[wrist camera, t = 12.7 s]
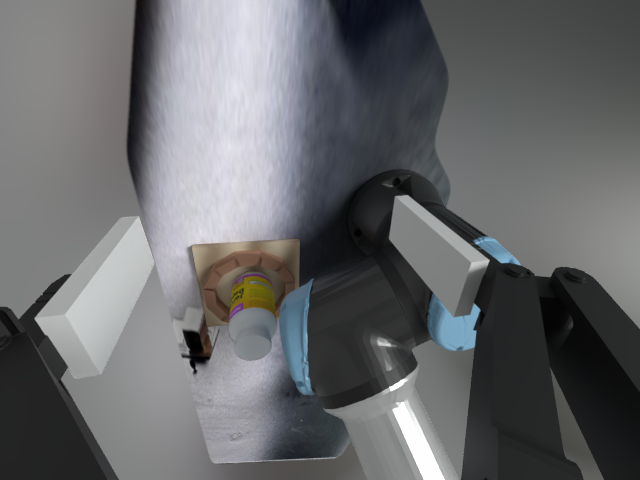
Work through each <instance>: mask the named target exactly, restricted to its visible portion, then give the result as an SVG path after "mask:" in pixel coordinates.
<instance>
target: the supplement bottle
mask: <svg viewBox="0 0 640 480" xmlns="http://www.w3.org/2000/svg"><path fill="white" fill-rule="evenodd" d="M276 329H277V319H276V310H275V300H274V290H273V284H272V281H271V280H270V278H269V277H268V276H267V275H265V274H263V273H260V272H254V271H253V272H246V273H243V274H241V275H240V276H238V277H237V278H236V279H235V281H234V282H233V285H232V291H231V302H230V315H229V327H228V330H229V334H230V337H231V338H232V340H233V341H235V353H236V355H237V356H238V357H240V358H241V359H244V360H258V359H261V358H263V357H265V356H266V355H267V354H268V353H269V352H270V350H271V338H272V337H273V336H274V334H275V332H276Z"/></svg>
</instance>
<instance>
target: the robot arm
mask: <svg viewBox="0 0 640 480" xmlns="http://www.w3.org/2000/svg"><path fill="white" fill-rule="evenodd" d="M348 229H349V232H350V235H351V237H352V239H353V240H354V242H355V244H356V245H357V247H358V248H359V249H360V250H361V251H362V252H363V253H365V254H366V255H367V256H365V257H363V258H360V259H358V260H356V261H354V262H352V263H350V264H348V265H346V266H344V267H341V268H339V269H337V270H335V271H333V272H331V273H329V274H327V275H324V276H322V277H320V278H318V279H315V278H313V279H311V280H310V281H309V283H307V284H305V285H303V286H301V287H299V288H297V289H295V290H293V291H292V292H290V293H289V294H287V295H286V297H285V298H284V300H283V302H282V304H281V308H280V318H279V323H280V335H281V341H282V347H283V351H284V355H285V359H286V362H287V366H288V369H289V372H290V374H291V377H292V379H293V380H294V381H295V383H296V387H297V388H298V390H299V391H300V392H301V393H302V394H304V395H314V394H316V393H317V394H318V396H319V398H320V401H321V403H322V406H323V408H324V410H325V411H326V412H328V413H330V414H332V415H334V416H336V417H339V418H341V419H342V420H343V421H344V423H345V426H346V428H347V431H348V433H349V436H350V438H351V440H352V443H353V445H354V448H355V450H356V453H357V455H358V458H359V460H360V463H361V465H362V468H363V470H364V473H365V475H366V478H367V480H459V479H458V476H457V475H456V472H455V470H454V468H453V466H452V464H451V462H450V460H449V458H448V456H447V454H446V452H445V450H444V448H443V446H442V444H441V441H440V439H439V437H438V435H437V433H436V431H435V429H434V427H433V425H432V423H431V421H430V419H429V416H428V414H427V413H426V410H425V408H424V406H423V404H422V402H421V400H420V398H419V396H418V394H417V392H416V390H415V387H414V382H415V379H416V376H417V373H418V370H419V365H418V362H417V361H416V359H415V357H414V355H413V352H412V348H414V347H416V346H418V345H420V344H422V343H424V342H426V341H429V340H431V339H432V340H433V341H434V342H435V343H436V344H437V345H439V346H441V347H442V348H444V349H446V350H449V351H455V350H456V349H457V350H460V351H463V350H467V349H470V348H473V347H475V350H474V360H473V369H472V379H471V389H470V399H469V408H468V418H467V428H466V438H465V448H464V458H463V469H462V477H461V480H583V476H582V473H581V470H580V468H579V467H578V466H577V464H576V463H574V462H572V461H570V460H568V459H566V457H565V455H564V451H563V446H562V439H561V433H560V427H559V420H558V415H557V408H556V402H555V395H554V389H553V383H552V376H551V370H550V367H551V369H552V371H553V373H554V375H555V377H556V380H557V382H558V384H559V386H560V388H561V390H562V392H563V394H564V396H565V398H566V401H567V403H568V405H569V407H570V409H571V411H572V413H573V415H574V417H575V419H576V421H577V424H578V426H579V428H580V430H581V432H582V434H583V436H584V438H585V440H586V442H587V444H588V447H589V449H590V451H591V453H592V455H593V457H594V459H595V461H596V463H597V465H598V468H599V470H600V472H601V474H602V476H603V478H604V480H640V329H639V328H638V327H637V326H636V324H635V323H634V322H633V321H632V320H631V319H630V318H629V317H628V315H627V314H626V313H625V312H624V311H623V310H622V309H621V308H620V306H619V305H618V304H617V303H616V302H615V301H614V300H613V299H612V297H611V296H610V295H609V294H608V293H607V292H606V291H605V290H604V289H603V287H602V286H601V285H600V284H599V283H598V282H597V281H596V280H595V279H594V278H593V277H592V276H590V275H588V274H587V273H585V272H584V271H581V270H578V269H575V268H569V267H559V268H556V269H555V270H554V272H553V274H552V276H551V277H540V276H535V275H534V273H532V272H531V271H530V270H529V269H527V268H525V267H523V266H521V265H520V263H519V262H518V260H517V259H516V258H515V257H514V256H512V255H511V254H510V253H509V252H508V251H507V250H505V249H504V248H503V247H502V246H501V245H500V244H499V242H497V241H496V240H495V239H493V238H491V237H488V236H487V235H485V234H484V233H482V232H481V231H479V230H478V229H477V228H475V227H474V226H472V225H471V224H469V223H468V222H466V221H465V220H463V219H462V218H461V217H459V216H458V215H456V214H455V213H453V212H452V211H450V210H449V209H447V208H446V207H445V205H444V203H443V201H442V199H441V197H440V195H439V193H438V191H437V189H436V188H435V186H434V185H433V184H432V183H431V182H430V181H429V180H427V179H426V178H424V177H423V176H421V175H420V174H418V173H416V172H413V171H410V170H402V169H400V170H391V171H387V172H384V173H382V174H380V175H378V176H376V177H374V178H372V179H371V180H370V181H368V182H367V183H366V184H365V185H364V186H363V187H362V188H361V189H360V190H359V191H358V193H357V194H356V196H355V197H354V199H353V201H352V203H351V206H350V209H349V212H348ZM154 264H155V263H154V260H153V257H152V254H151V251H150V248H149V245H148V242H147V239H146V236H145V233H144V230H143V227H142V224H141V221H140V218H139V216H133V217H121V218H120V219H119V221H118V222H117V223H116V224H115V225H114V226H113V227H112V228H111V230H110V231H109V232H108V233H107V234H106V235H105V237H104V238H103V239H102V240H101V241H100V242H99V244H98V245H97V246H96V247H95V248H94V249H93V251H92V252H91V253H90V254H89V255H88V256H87V258H86V259H85V260H84V261H83V262H82V264H81V265H80V266H79V267H78V268H77V269H76V270H75V272H74V273H73V274H68V275H64V276H63V277H61V278H60V279H58V280H57V281H55V282H54V283H52V284H51V285H50V286H49V287H48V288H47V289H46V290H45V291H44V292H43V295H41V296H40V297H39V298H38V299H37V300H36V301H35V302H36V303H34V304H33V305H32V306H31V307H30V308H29V309H28V310H27V311H26V312H25V313H24V314H23V315H22V316H21V318H20V319H19V320H18V318H17V317H16V316H15V314H14V313H13V312H12V310H11V309H9V308H8V307H0V480H119V479H118V477H117V476H116V474H115V472H114V471H113V469H112V467H111V465H110V464H109V462H108V460H107V458H106V457H105V455H104V453H103V451H102V450H101V448H100V446H99V445H98V443H97V441H96V439H95V438H94V436H93V434H92V432H91V430H90V429H89V427H88V425H87V423H86V422H85V420H84V418H83V416H82V415H81V413H80V411H79V409H78V408H77V406H76V404H75V402H74V401H73V399H72V397H71V395H70V394H69V392H68V390H67V389H66V387H65V385H64V384H63V382H62V381H61V377H62V376H63V374H64V373H65V371H66V369H67V368H68V370H69V371H70V373H71V374H72V376H73V377H74V379H81V378H87V377H93V376H100V375H101V374H102V372H103V370H104V368H105V366H106V364H107V362H108V359H109V357H110V355H111V353H112V351H113V349H114V347H115V345H116V343H117V341H118V339H119V337H120V335H121V332H122V330H123V328H124V326H125V324H126V322H127V320H128V318H129V316H130V314H131V312H132V310H133V308H134V306H135V303H136V302H137V299H138V297H139V295H140V293H141V291H142V289H143V287H144V284H145V283H146V281H147V279H148V277H149V275H150V272H151V270H152V268H153V266H154Z"/></svg>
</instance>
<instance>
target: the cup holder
mask: <svg viewBox="0 0 640 480" xmlns="http://www.w3.org/2000/svg"><path fill="white" fill-rule="evenodd" d="M192 252H193V257H194V262H195V267H196V272H197V278H198V283H199V288H200V293H201V298H202V304H203V309H204V314H205V319H206V324H207V327H210V326H219V325H228V324H229V315H230V302H231V291H232V285H233V282H234V281H235V279H236V278H237V277H238V276H240V275H241V274H243V273H246V272H253V271H254V272H260V273H263V274H265V275H267V276H268V277H269V278H270V280H271V281H272V284H273V290H274V300H275V310H276V319H279V318H280V308H281V304H282V302H283V300H284V298H285V297H286V295H287V294H289V293H290V292H292V291H293V290H295V289H297V288H299V258H300V241H299V239H285V240H268V241H250V242H233V243H216V244H198V245H193V246H192Z"/></svg>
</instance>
